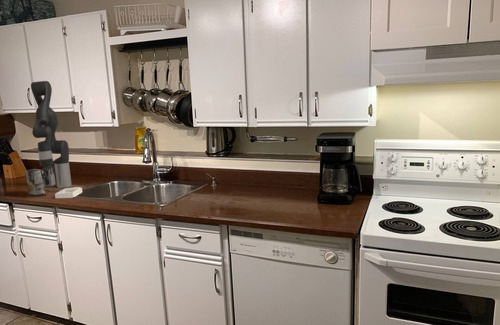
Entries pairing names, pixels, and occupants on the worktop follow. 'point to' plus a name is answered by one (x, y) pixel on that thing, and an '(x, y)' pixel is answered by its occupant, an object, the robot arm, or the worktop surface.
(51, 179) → the plug
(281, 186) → the worktop surface
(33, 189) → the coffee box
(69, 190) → the socket plate
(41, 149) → the robot arm
